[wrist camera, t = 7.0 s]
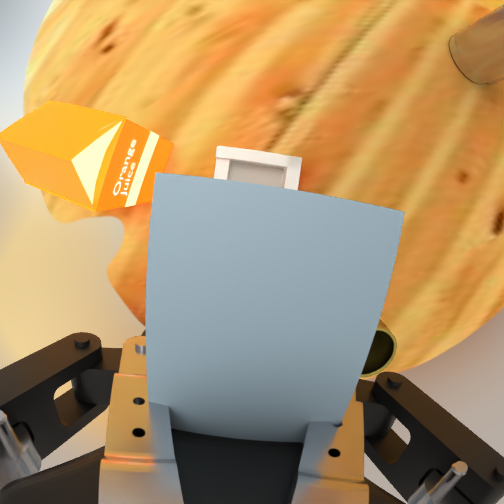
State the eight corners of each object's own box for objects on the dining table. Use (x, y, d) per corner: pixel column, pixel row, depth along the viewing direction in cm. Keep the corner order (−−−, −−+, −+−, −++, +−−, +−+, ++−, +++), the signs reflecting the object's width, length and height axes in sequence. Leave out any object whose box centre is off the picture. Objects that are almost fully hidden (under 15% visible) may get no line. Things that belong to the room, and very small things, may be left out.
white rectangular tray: (295, 161, 34) (302, 157, 29) (269, 319, 38) (272, 335, 34) (221, 150, 34) (217, 145, 29) (202, 310, 38) (196, 325, 33)
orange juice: (152, 202, 35) (55, 222, 15) (95, 181, 34) (-19, 186, 15) (174, 142, 33) (93, 98, 14) (115, 124, 33) (10, 85, 13)
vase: (325, 266, 37) (365, 312, 23) (362, 287, 37) (413, 337, 23) (300, 307, 38) (325, 369, 24) (338, 325, 38) (375, 388, 24)
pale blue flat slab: (302, 194, 14) (404, 211, 4) (264, 396, 17) (273, 542, 7) (215, 181, 14) (141, 171, 4) (195, 388, 17) (160, 530, 7)
